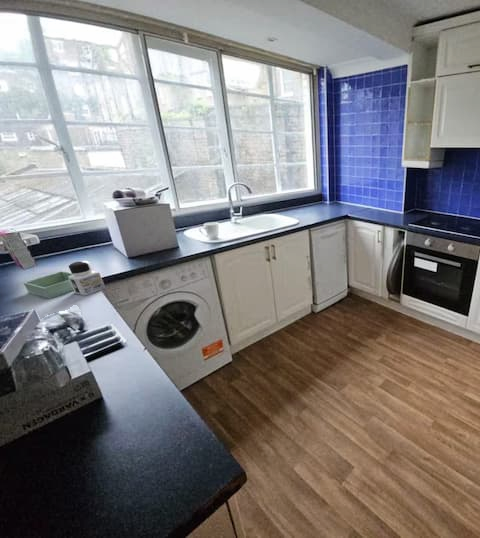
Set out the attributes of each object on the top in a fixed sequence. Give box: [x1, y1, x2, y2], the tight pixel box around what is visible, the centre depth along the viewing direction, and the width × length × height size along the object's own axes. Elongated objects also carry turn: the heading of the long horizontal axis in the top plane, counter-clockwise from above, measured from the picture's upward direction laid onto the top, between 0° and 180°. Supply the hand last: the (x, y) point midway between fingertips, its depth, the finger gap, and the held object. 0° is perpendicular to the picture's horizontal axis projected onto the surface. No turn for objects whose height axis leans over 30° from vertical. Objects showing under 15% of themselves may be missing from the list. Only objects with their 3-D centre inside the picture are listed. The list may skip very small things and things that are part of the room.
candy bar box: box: [0, 228, 38, 271], centre depth 128 cm, size 11×5×16 cm, turn 58°
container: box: [68, 260, 106, 296], centre depth 124 cm, size 8×8×13 cm
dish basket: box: [23, 270, 74, 300], centre depth 128 cm, size 13×16×5 cm
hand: (15, 246), depth 129 cm, fingers closed on candy bar box, 5 cm apart
